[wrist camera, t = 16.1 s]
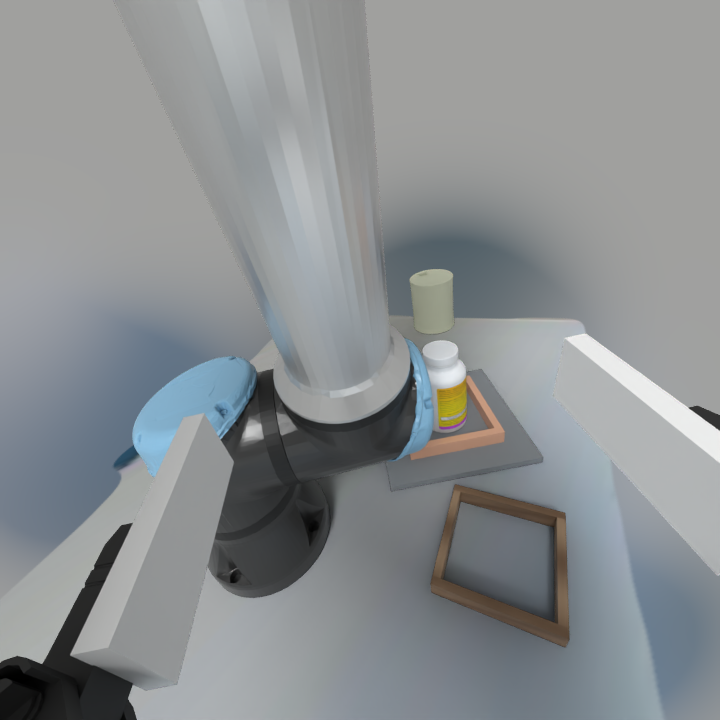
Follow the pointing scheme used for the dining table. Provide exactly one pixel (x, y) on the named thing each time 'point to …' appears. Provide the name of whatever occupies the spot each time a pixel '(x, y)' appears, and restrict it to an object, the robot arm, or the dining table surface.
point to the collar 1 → (469, 439)
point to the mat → (473, 460)
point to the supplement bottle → (446, 385)
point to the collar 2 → (490, 606)
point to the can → (432, 301)
